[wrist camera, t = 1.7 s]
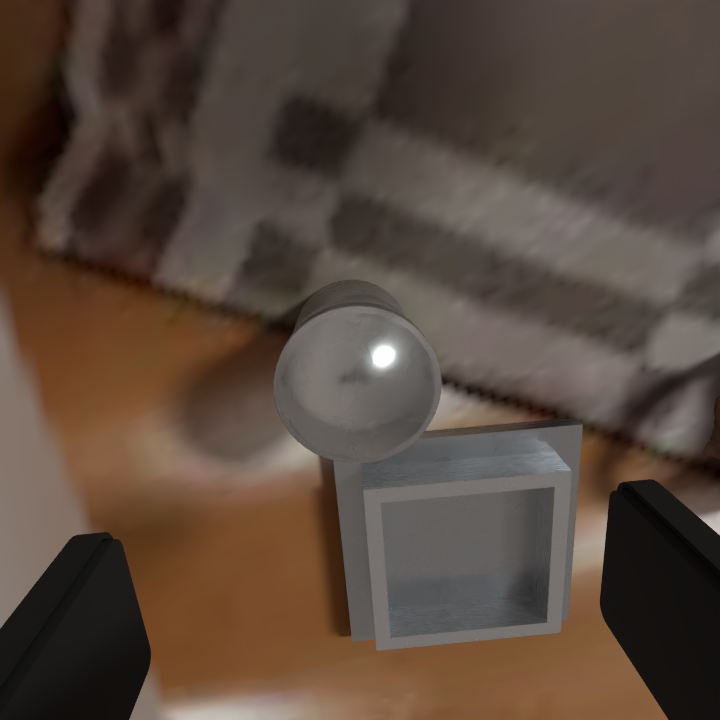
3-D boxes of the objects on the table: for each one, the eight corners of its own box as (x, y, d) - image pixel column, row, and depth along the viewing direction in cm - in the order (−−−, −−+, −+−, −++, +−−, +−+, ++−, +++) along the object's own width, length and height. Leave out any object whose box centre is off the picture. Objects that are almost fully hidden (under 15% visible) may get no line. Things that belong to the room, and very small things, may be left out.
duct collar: (331, 439, 26) (331, 467, 23) (575, 417, 26) (602, 442, 24) (351, 630, 30) (353, 672, 27) (562, 609, 30) (583, 649, 28)
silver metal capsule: (283, 281, 23) (262, 314, 17) (409, 270, 23) (439, 299, 17) (298, 398, 25) (284, 470, 19) (414, 387, 25) (443, 455, 19)
